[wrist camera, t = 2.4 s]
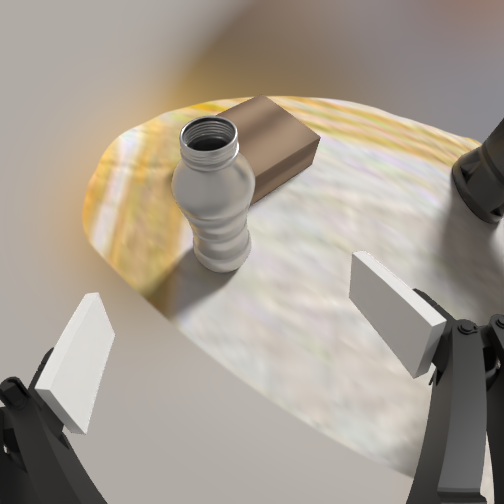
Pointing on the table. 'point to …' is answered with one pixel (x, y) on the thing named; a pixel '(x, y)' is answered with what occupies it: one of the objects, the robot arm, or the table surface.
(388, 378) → the table surface
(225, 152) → the plastic bottle
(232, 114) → the walnut block
